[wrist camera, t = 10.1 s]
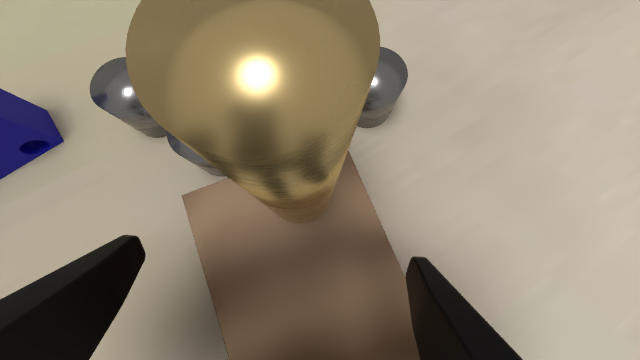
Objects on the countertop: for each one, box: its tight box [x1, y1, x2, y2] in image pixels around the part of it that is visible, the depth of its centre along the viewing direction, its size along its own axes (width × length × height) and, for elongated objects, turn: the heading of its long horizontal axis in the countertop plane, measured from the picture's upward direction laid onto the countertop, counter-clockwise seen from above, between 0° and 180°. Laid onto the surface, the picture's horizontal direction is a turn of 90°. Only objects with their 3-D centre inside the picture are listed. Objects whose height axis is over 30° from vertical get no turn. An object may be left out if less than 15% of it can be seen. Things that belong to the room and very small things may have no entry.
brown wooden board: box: [182, 151, 420, 360], centre depth 17 cm, size 14×11×2 cm
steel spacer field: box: [90, 47, 408, 176], centre depth 18 cm, size 9×18×4 cm, turn 112°
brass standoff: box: [126, 0, 380, 223], centre depth 11 cm, size 4×4×13 cm
